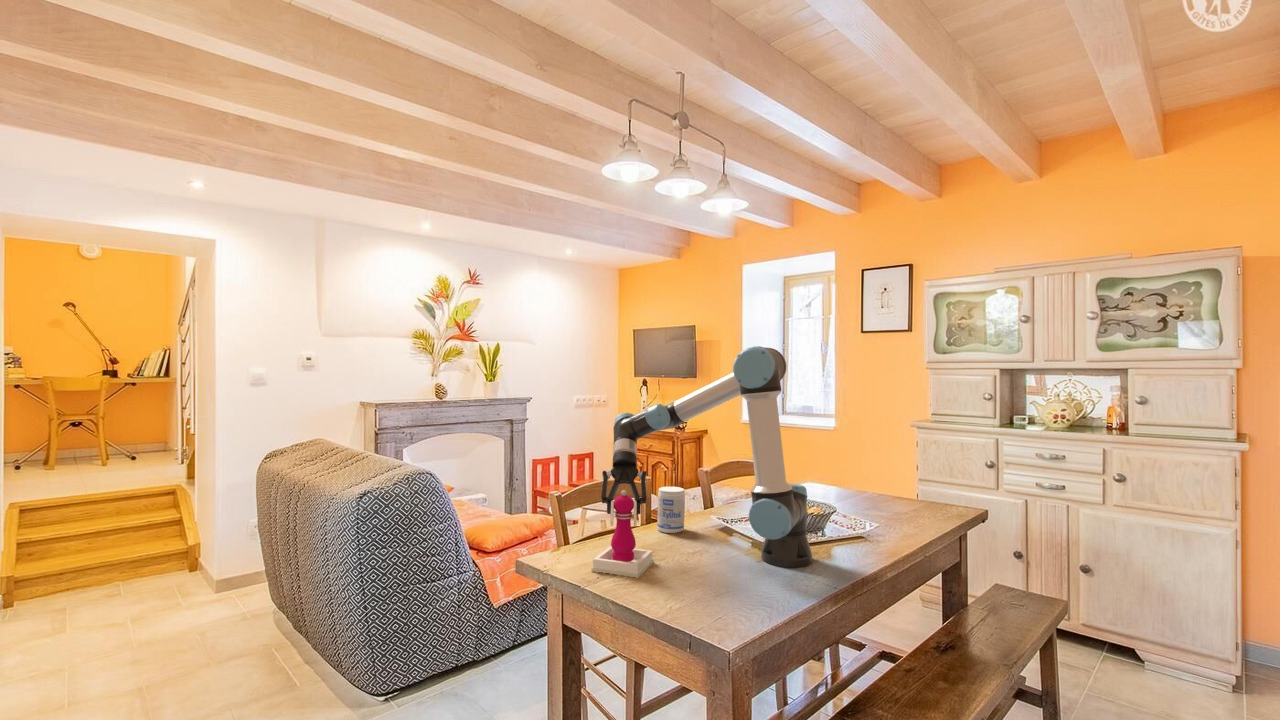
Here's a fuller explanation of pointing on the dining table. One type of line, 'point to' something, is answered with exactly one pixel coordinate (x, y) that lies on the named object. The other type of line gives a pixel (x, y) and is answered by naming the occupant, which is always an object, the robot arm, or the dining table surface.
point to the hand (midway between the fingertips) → (623, 523)
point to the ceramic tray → (623, 563)
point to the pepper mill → (623, 529)
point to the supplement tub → (671, 509)
